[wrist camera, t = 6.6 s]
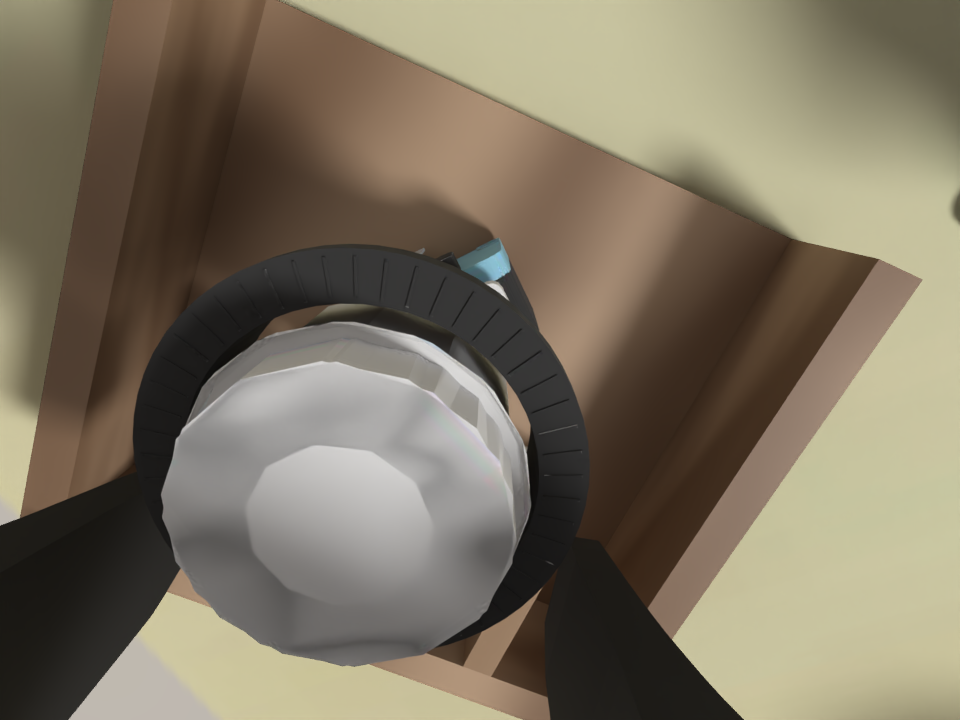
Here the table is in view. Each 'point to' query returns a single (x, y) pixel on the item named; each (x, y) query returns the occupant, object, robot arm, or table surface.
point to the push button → (362, 450)
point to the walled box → (459, 229)
